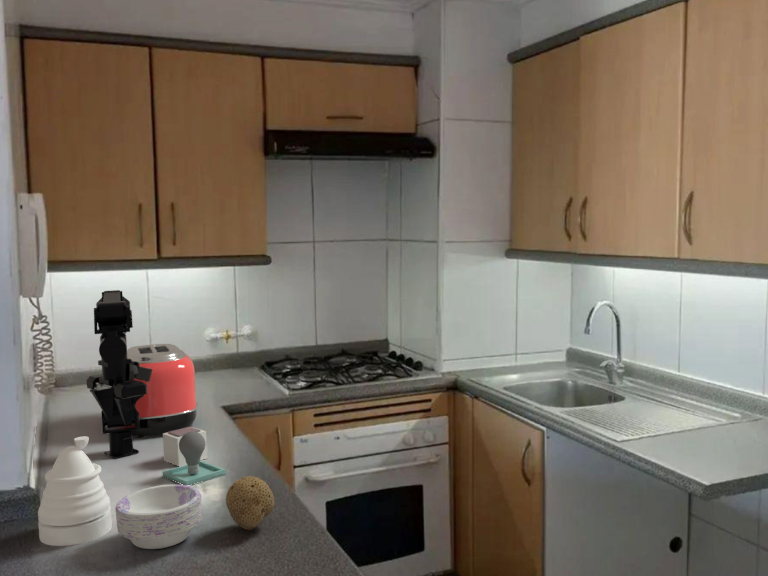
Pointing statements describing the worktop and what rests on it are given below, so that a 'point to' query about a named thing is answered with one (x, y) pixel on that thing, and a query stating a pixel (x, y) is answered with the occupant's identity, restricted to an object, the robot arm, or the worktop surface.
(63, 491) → the honey pot
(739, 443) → the worktop surface
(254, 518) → the natural sponge
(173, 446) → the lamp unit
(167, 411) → the toaster
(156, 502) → the paper bowls
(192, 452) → the light bulb
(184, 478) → the tray
